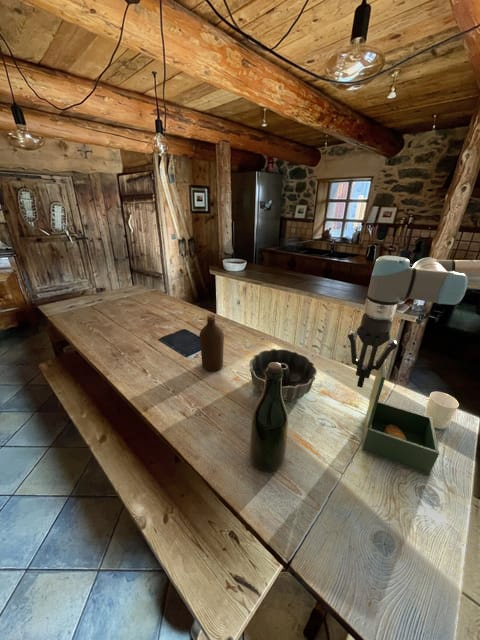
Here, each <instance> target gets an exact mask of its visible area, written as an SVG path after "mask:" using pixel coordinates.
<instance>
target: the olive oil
mask: <svg viewBox="0 0 480 640" xmlns="http://www.w3.org/2000/svg"><path fill="white" fill-rule="evenodd" d="M198 337H199V339H198V340H199V347H200V356H201V366H202V367H201V368H202V369H203V370H205V371H206V372H217V371H220V370H222V369H223V367H224V346H225V334H224V330H223V329H222V328H221V327H220V326H219V324H216V316H215V314H212V313H211V314H208V315H207V316H206V324H205V325H204V326H203V327H202V328H201V330H200V332H199V335H198Z"/></svg>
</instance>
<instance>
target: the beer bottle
mask: <svg viewBox="0 0 480 640" xmlns="http://www.w3.org/2000/svg"><path fill="white" fill-rule="evenodd" d="M265 375H266V376H265V385H264V390H263V393H261V396H260V397H259V399H258V401H257V403H256V405H255V406H254V409H253V412H252V417H251V426H250V438H249V459H250V462H251V463H252V464H253V466H254V467H255V468H257V469H258V470H260V471H263V472H268V473H269V472H275V471H277V470H279V469H280V468H281V467H282V466H283V465H284V463H285V458H286V451H287V444H288V443H287V442H288V432H289V414H288V413H289V412H288V410H287V407H286V403H285V400H283V398H282V377H283V370H282V368H281V364H279V363H277V362H271V363H269V364H268V367H267V368H266V371H265Z"/></svg>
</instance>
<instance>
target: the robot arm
mask: <svg viewBox="0 0 480 640" xmlns="http://www.w3.org/2000/svg"><path fill="white" fill-rule="evenodd" d="M410 264H411V261H410V259H408V258H407V257H402V256H397V255H382V256H379V257H378V258H377V259H376V260H375V261H374V265H373V270H372V272H371V275H370V280H369V281H370V283H369V285H368V290H367V295H366V297H365V303H364V308H363V313H362V316H361V320H360V325H359V326H358V328H357V329H356V330H354V331H353V330H349V331H348V334H347V339H348V340H349V342H350V356H351V364H352V365H356V371H355V376H356V377H358V380H357V384H356V387H358V388H361V389H363V388H364V387H363V386H364V382H365V379H369V378H370V376H371V373H372V371H374V370H375V371H377V370H379V369H380V367H381V366H382V364H383V363H384V361H385V360H386V361H387V359H388V357H389V355H390V354H391V352H393V351H394V350H395V349H397V348H398V341H397V340H395V339H393V338H392V337H391V330H392V326H393V323H394V317H395V315H396V311H397V308H398V304H399V301H400V298H405V299H410V300H417V301H422V302H429V303H435V304H437V305H452V306H454V305H458V304H459V303H461V301H462V300H463V298H464V297H465V295H466V291H467V290H480V259H437V258H435V257H423V258H420V259H419V260H417V261H415V263H413V265H412V267H411V266H410ZM357 338H358V339H360V341H361V343H362V346H361V350H360V355H359V357H358V355H357V353H358V352H357V351H358V350H357ZM385 343H386V346H385V347H384V349H383V350H382V352H381V353H380V355H379V357H378V358H377V360H376V361H375V359H376V356H377V352H378V349H379V347H381V346H382V345H384V344H385ZM369 346H371V350H370V354H369V358H368V360H367V361H368V362H367V364H364V361H365V358H366V354H367V349H368V347H369ZM358 358H359V359H358Z"/></svg>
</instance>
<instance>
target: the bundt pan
mask: <svg viewBox="0 0 480 640" xmlns="http://www.w3.org/2000/svg"><path fill="white" fill-rule="evenodd" d="M271 362H277V363H279V364H281V368H282V370H283V377H282V398H283V401H288V402H292V401H293V400H299V399H302V398H303V397H304V396H305V395H307V394H308V393H309V392H310V391H311V388H312V385H313V383H314V381H316V375H317V373H318V370H317V367H315V363H314V362H313V361H311V360H310V359H309V357H307V356H306V355H303V354H300V353H299V352H297V351H292V350H289V349H284V348H278V349H277V348H271V349H267V350H262V351H260V352H258V353H257V354H254V355H253V356H252V358H251V359H250V360H249V367H250V368H249V371H250V375H251V382H252V385H253V386H254V387H255V388H256V390H257V391H258V392H259V393H260V394H262V393H263V390H264V385H265V376H266V375H265V371H266V368H267V367H268V364H269V363H271Z"/></svg>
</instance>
